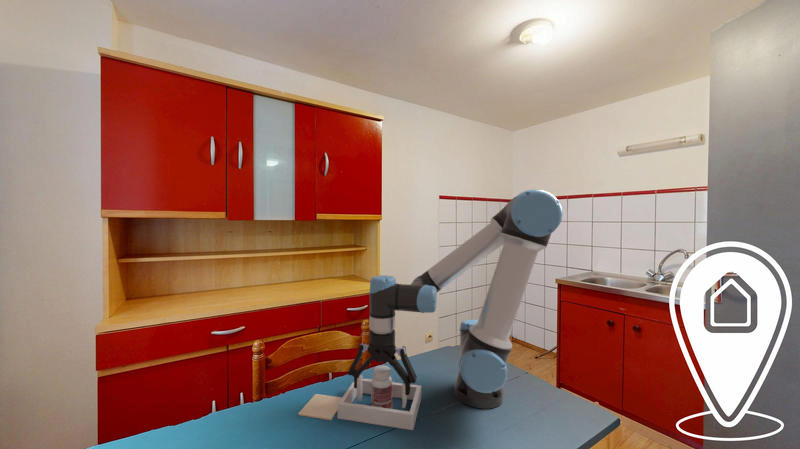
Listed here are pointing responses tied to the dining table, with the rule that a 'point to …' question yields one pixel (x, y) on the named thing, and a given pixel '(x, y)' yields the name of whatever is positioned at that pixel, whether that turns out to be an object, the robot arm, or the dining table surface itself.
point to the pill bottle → (381, 387)
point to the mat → (321, 407)
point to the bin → (380, 414)
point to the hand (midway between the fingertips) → (381, 402)
